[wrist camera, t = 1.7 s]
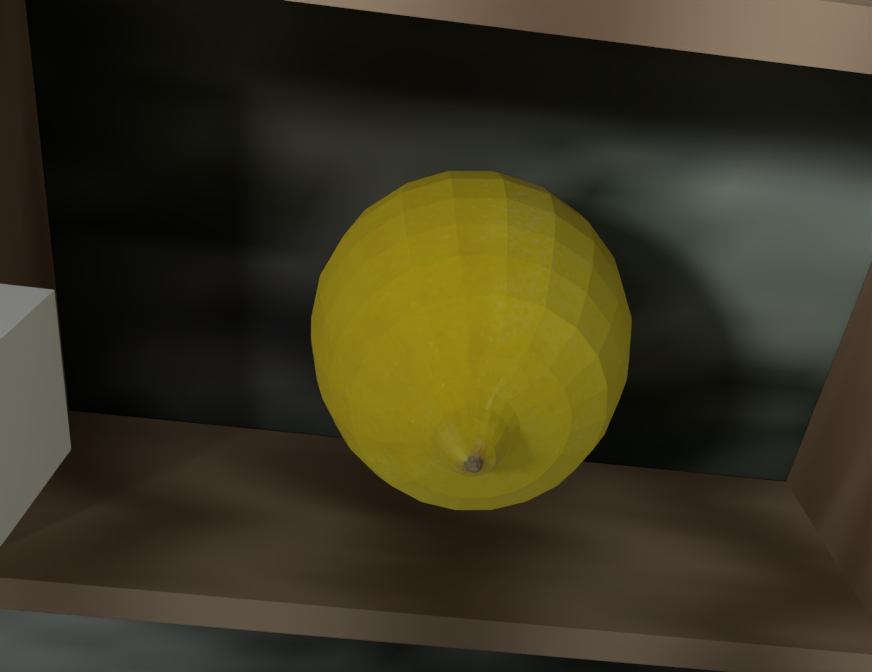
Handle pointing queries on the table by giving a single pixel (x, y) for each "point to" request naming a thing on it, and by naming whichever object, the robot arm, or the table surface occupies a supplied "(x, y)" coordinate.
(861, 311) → the open wooden box frame
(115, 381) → the table surface
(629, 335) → the fruit
